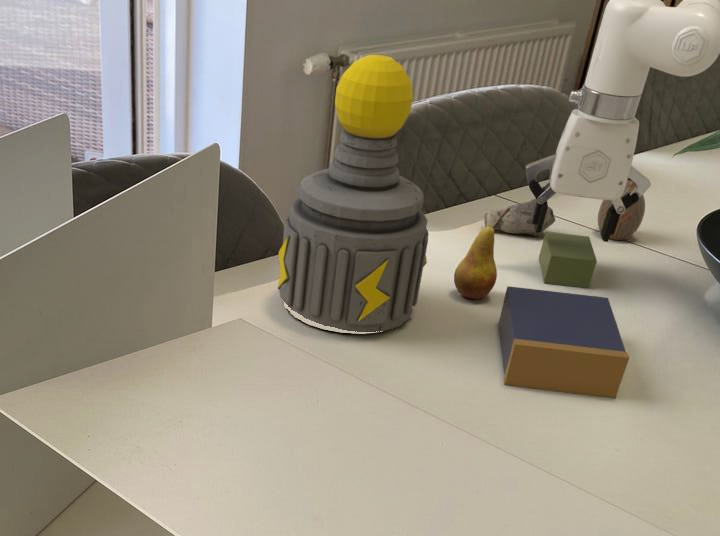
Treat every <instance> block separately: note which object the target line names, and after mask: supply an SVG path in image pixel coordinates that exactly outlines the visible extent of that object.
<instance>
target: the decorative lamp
mask: <svg viewBox="0 0 720 536" xmlns="http://www.w3.org/2000/svg"><path fill="white" fill-rule="evenodd" d="M413 100H414V92H413V86H412V81H411V78H410V77H409V75H408V73H407V71H406V70H405V68H404V67H403V65H402V64H400V63H399V62H397V61H396V60H395V59H394V58H393V57H391V56H388V55H383V54H367V55H365V56H363V57H361V58H360V59H357V60H355V61H353V63H352V64H351V65H350V66H349V67H348V68H347V69H346V70H345V71H344V72H343V74H342V75H341V77H340V79H339V82H338V83H337V86H336V89H335V99H334V106H335V110H336V111H335V112H336V115H337V119H338V121H339V123H340V124H341V126H342V127H343V129H342V131H341V133H340V136H339V140H340V143H338V145H337V146H336V148H335V150H334V152H333V157H334V160H332V161H331V162H330V165H329V167H328V168H324V169H321V170H318V171H316V172H313V173H310V174H308V175H306V176H304V177H303V178H302V180H301V182H300V183H299V187H298V192H297V193H298V196H299V197H298V198H296V199H294V201H293V202H292V204H291V205H290V206H289V213H288V215H287V217H286V219H285V221H284V225H283V227H284V228H283V237H282V246H281V247H280V249H279V251H278V259H279V270H280V272H279V279H278V283H277V284H278V285H277V290H278V291H279V297H280V298H281V300H283V301H284V302H285V303H286V304H287V305H288V307H290V308H291V310H293V311H295V312H297V313H298V314H300V315H302V316H303V317H304V318H306V319H309V320H311V321H314V322H316V323H319V324H322V325H324V326H330V327H335V328H338V329H342V330H347V331H355V332H356V331H357V332H376V331H377V332H378V331H379V332H380V331H386V330H389V329H392V330H394V329H393V328H395V329H397V328H399V327H400V326H402V325H404V324H405V323H406V322H407V321H408V320H409V319H410V316H411V314H412V309H413V307H416V306H417V303H418V299H419V294H420V287H421V282H422V277H423V271H424V267H425V266H426V265H427V263H428V260H427V249H428V244H429V230H428V229H427V225H428V218H427V216H426V215H425V213H424V212H423V210H422V209H423V206H424V199H425V194H424V193H423V191H422V190H421V188H420V187H419V186H417V185H416V184H415V183H413V182H412V181H410V180H408V179H407V178H405V177H404V176H401V175H400V170H399V167H398V166H397V164H398V163H399V153H398V151H397V149H396V148H395V147H397V144H398V141H397V135H396V133H397V132H399V131H400V130H401V129H402V127H403V126H404V125H405V123H406V121H407V119H408V117H409V115H410V113H411V111H412V105H413ZM283 301H282V302H283ZM396 327H397V328H396ZM389 331H390V330H389ZM386 332H387V331H386Z"/></svg>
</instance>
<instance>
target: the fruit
mask: <svg viewBox="0 0 720 536" xmlns="http://www.w3.org/2000/svg"><path fill="white" fill-rule="evenodd" d="M509 210H510V208H507V210H506V211H505V212H504V213H503V214H502V215H501V216H500V218H499V219H498V221H496V222H495V223H494V224H493V225H492V226H491V227H490V226H487V227H486V228H485V227H484V228H483V229H482V230H481V231H479V232H478V234H477V236H475V238H474V240H473V242H472V244H471V245H470V247H469V249H468V251H467V253H466V254H465V256H464V258H463V259H461V261H460V262H459V263H458V265H457V267H456V268H455V270H454V273H453V282H454V286H455V289H456V290H457V292H458V293H459V294H460V295H461V296H462V297H465V298H467V299H471V300H478V299H479V300H480V299H483V298H485V297H486V296H487V295H489V294H490V292H491V291H492V290H493V289H494V287H495V285H496V282H497V279H498V278H497V277H498V271H497V264H496V261H495V255H494V254H495V252H494V251H495V250H494V249H495V232H496V231H495V229H493V228H494V226H495V225H496V224H497V223H498V222H499V221H500V220H501V218H502V217H503V216H504V215H505V214H507V212H508V211H509Z"/></svg>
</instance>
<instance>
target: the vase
mask: <svg viewBox="0 0 720 536" xmlns="http://www.w3.org/2000/svg"><path fill="white" fill-rule="evenodd" d="M635 187H636V183H635V182H633V181H632V180H631V179H630V178H628V180H627V183H626V187H625V190H624V192H623V194H622V196H621V198H622V197H623V196H625V195H626V194H628V193H629V192H631V191H633V189H634V188H635ZM612 204H613V203H612V201H611V200H602V202H601V204H600V205H599V209H598V213H597V226H598V229H599V232H600V233H601V230H602V227H603V224H604V221H605V217H606V214H607V211H608V208H610V206H612ZM645 212H646V200H645V196H644V194H643V195H642V196H641V197H640V198H639V200H638V201H637V202H636V203H635V204H633V205H632V206H630V207H629V208H627V209H626V210H625V211H624V212H623V213H622V214H620V217H619V221H618V224H617V227H616V230H615V233H614V234H610V237H609V239H610V240H615V241H624V240H626V239H629V238H630V237H631V236H633V235H634V234H635V233H636V232H637V231H638V230H639V228H640V226H641V225H642V222H643V219H644V217H645Z"/></svg>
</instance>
